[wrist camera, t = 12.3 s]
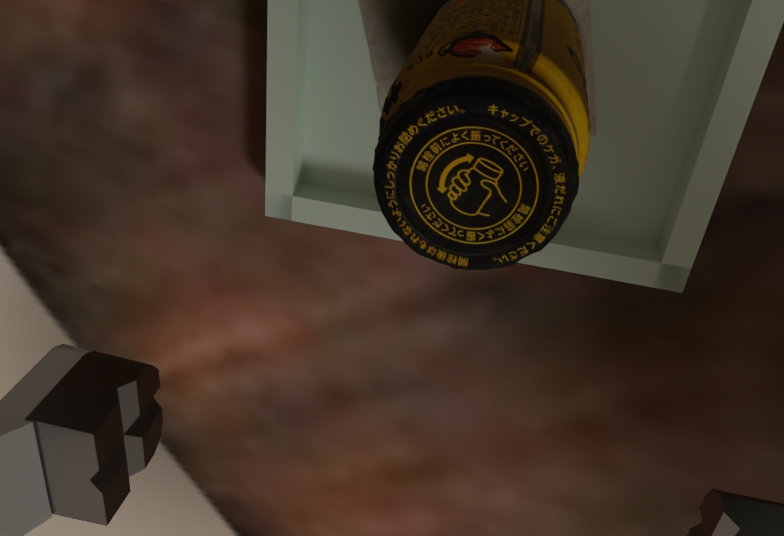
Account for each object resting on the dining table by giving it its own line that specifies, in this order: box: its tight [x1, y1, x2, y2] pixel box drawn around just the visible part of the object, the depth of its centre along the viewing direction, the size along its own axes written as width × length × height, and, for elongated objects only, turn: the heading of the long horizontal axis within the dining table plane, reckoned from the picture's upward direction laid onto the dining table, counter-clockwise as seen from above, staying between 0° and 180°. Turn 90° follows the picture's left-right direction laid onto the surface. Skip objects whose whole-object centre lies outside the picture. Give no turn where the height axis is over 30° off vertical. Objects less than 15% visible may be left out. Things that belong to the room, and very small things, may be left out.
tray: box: [265, 0, 784, 293], centre depth 28 cm, size 16×18×2 cm
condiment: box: [359, 0, 597, 270], centre depth 24 cm, size 7×8×12 cm
